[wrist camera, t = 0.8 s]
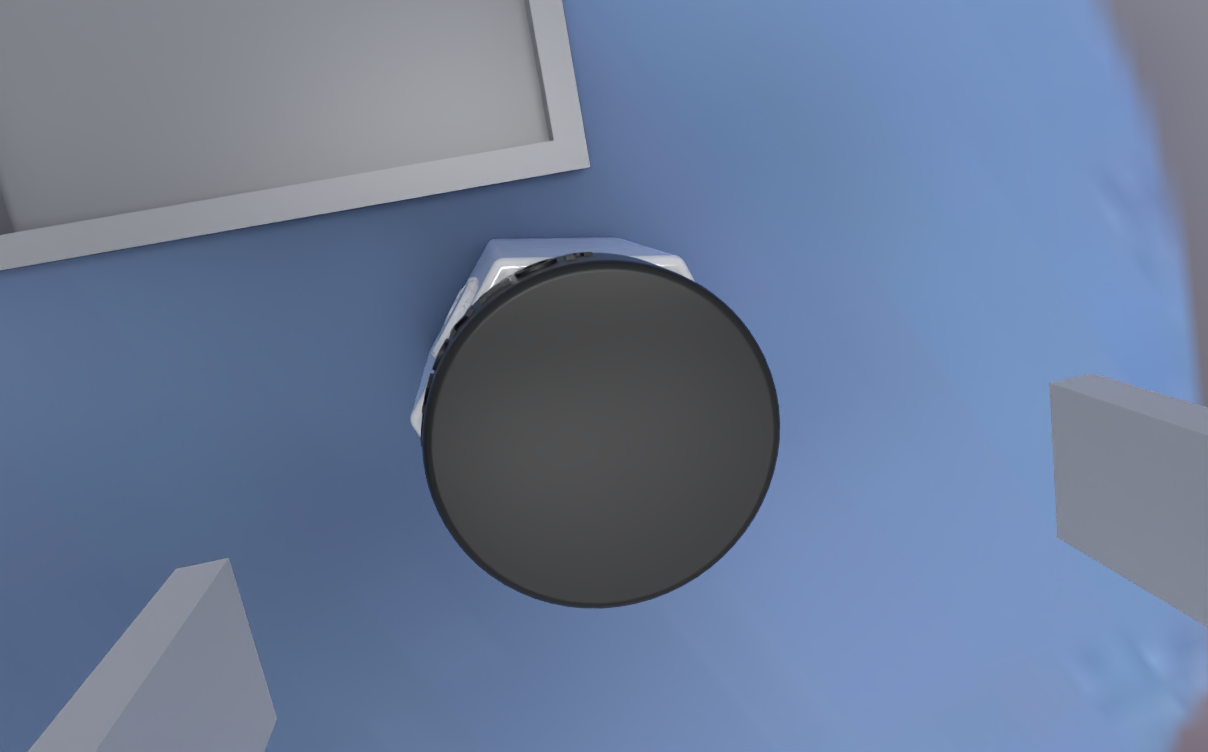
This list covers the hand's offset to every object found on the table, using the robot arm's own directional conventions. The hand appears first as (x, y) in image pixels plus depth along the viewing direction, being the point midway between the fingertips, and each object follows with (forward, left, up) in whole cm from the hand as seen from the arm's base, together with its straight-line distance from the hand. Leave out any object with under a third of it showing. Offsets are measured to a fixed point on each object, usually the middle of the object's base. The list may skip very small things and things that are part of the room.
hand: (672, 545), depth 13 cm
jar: (0, 0, -18) cm, 18 cm away
